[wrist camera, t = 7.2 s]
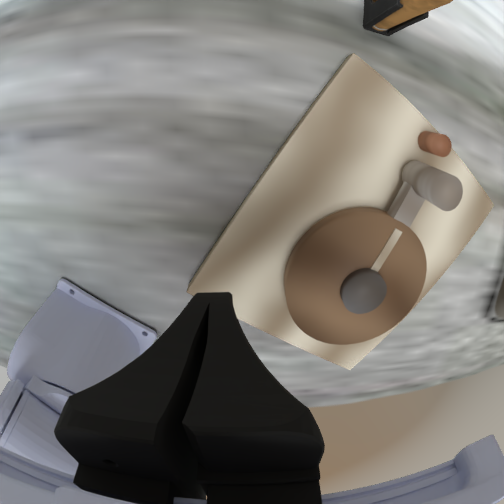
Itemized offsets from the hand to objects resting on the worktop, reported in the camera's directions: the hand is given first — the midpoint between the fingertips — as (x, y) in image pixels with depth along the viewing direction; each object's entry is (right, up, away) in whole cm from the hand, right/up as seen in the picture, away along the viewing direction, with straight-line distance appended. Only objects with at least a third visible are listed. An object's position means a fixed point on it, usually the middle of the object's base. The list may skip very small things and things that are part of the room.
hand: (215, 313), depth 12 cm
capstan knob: (+9, +2, +8) cm, 12 cm away
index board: (+9, +3, +9) cm, 13 cm away
